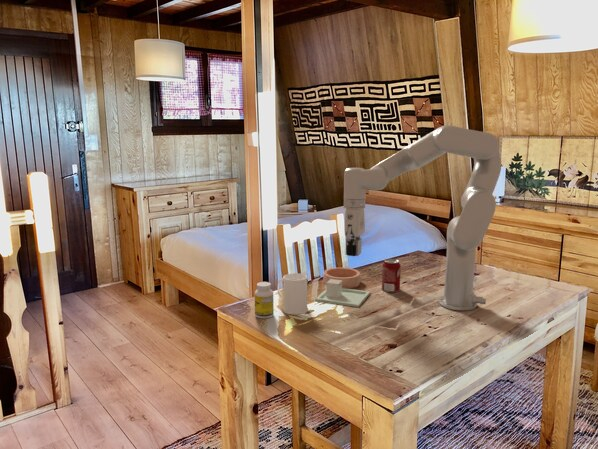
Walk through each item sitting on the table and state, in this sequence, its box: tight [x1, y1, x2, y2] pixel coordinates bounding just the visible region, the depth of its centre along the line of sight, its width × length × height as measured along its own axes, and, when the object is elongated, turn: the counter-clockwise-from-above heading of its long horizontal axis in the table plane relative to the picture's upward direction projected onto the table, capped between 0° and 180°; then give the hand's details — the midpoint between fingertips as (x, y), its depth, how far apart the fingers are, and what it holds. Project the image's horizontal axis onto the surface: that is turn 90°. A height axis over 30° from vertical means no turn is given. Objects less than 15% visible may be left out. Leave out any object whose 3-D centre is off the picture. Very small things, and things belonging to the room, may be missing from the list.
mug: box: [276, 272, 308, 316], centre depth 169 cm, size 12×8×12 cm
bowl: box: [322, 267, 361, 289], centre depth 197 cm, size 14×14×4 cm
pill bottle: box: [254, 281, 275, 319], centre depth 164 cm, size 6×6×11 cm
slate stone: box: [345, 237, 363, 257], centre depth 176 cm, size 4×4×6 cm
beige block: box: [325, 279, 342, 299], centre depth 182 cm, size 4×4×6 cm
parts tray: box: [315, 288, 371, 308], centre depth 181 cm, size 16×15×1 cm
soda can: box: [381, 258, 402, 293], centre depth 188 cm, size 7×7×12 cm
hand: (353, 253), depth 177 cm, fingers closed on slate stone, 4 cm apart
